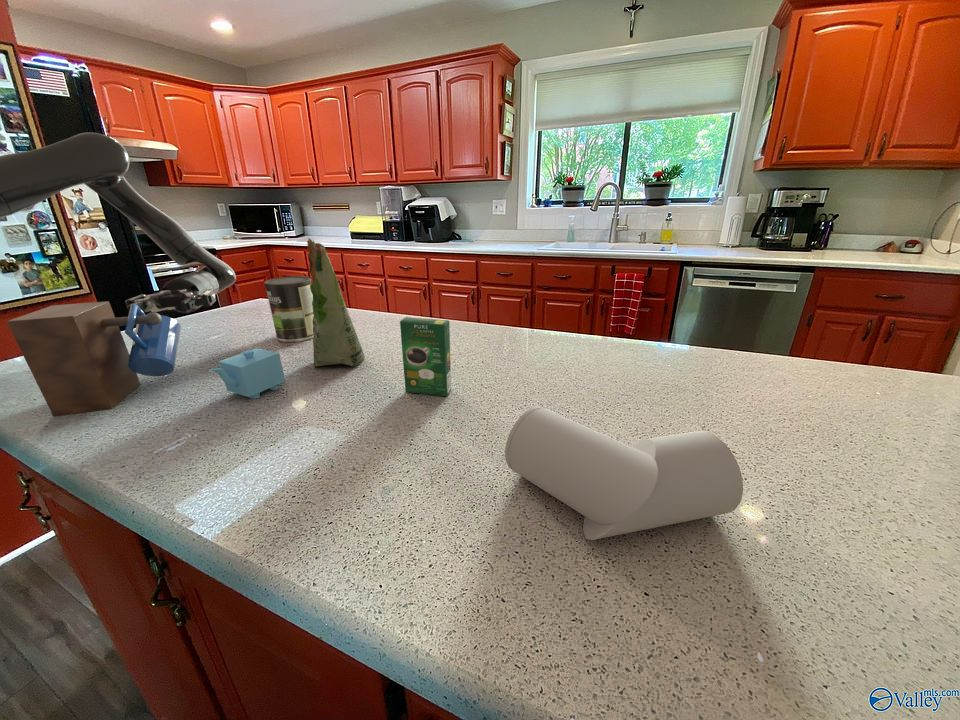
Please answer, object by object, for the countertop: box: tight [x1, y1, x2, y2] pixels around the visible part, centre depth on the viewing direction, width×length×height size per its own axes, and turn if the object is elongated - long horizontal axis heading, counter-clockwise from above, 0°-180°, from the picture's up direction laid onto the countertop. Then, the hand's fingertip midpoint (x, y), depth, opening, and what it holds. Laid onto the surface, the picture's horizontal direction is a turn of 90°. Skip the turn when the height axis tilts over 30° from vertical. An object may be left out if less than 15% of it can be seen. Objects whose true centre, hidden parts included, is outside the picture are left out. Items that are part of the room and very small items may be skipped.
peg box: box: [6, 300, 162, 417], centre depth 67 cm, size 16×10×16 cm, turn 107°
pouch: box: [306, 237, 366, 368], centre depth 78 cm, size 11×12×25 cm
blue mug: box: [124, 304, 182, 377], centre depth 71 cm, size 11×6×10 cm
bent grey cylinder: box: [504, 406, 744, 541], centre depth 43 cm, size 18×11×20 cm
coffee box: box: [399, 316, 452, 397], centre depth 67 cm, size 8×3×13 cm, turn 76°
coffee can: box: [263, 275, 314, 343], centre depth 97 cm, size 10×10×14 cm
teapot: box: [208, 347, 286, 400], centre depth 69 cm, size 12×6×8 cm, turn 153°
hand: (158, 309), depth 75 cm, fingers open, 8 cm apart
